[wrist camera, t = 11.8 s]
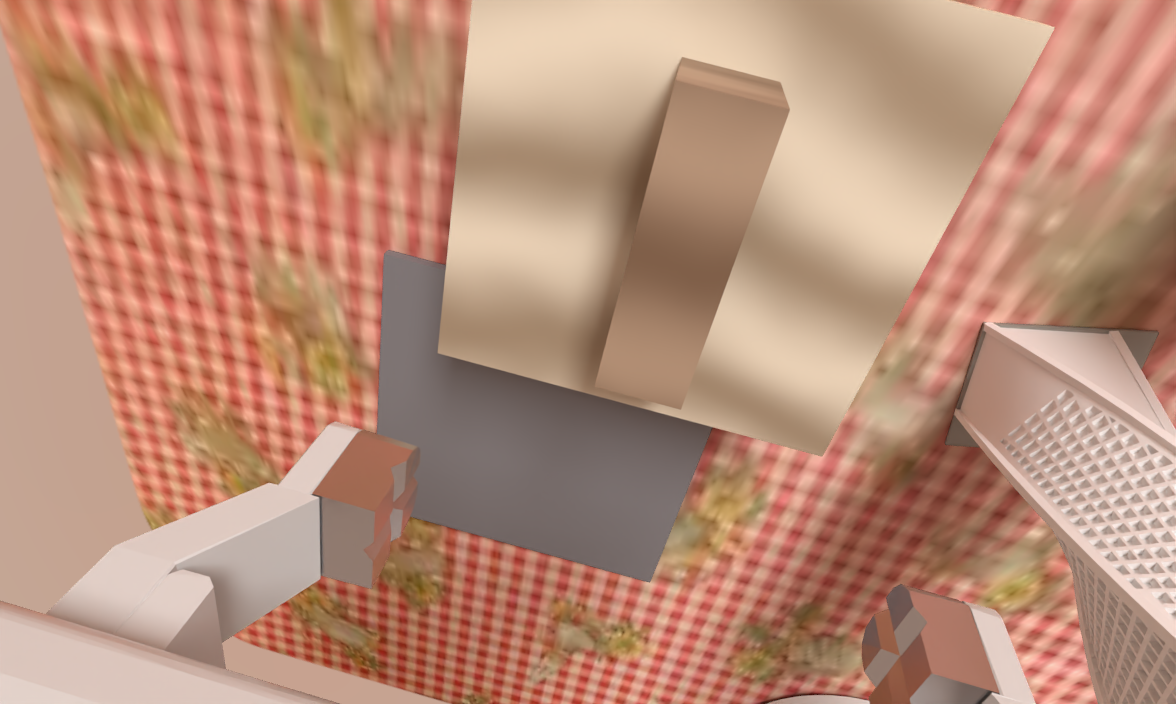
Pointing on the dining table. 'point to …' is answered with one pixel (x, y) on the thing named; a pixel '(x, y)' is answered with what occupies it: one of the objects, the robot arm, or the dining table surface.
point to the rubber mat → (525, 444)
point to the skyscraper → (1089, 483)
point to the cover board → (806, 217)
